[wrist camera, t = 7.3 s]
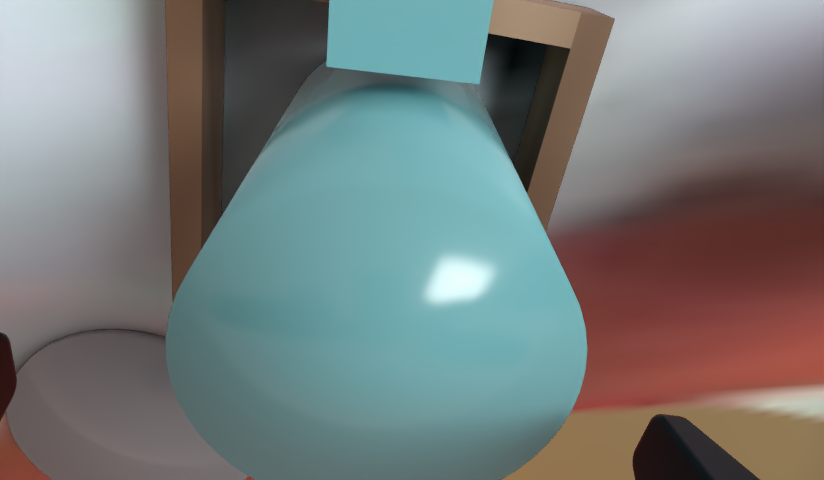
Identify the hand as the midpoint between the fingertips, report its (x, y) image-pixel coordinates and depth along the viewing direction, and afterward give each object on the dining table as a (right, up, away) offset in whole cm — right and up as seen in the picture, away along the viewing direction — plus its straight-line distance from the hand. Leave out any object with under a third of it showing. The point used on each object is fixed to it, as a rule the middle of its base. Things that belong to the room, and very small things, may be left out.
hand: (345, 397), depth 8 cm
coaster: (-9, -5, +14) cm, 17 cm away
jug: (+1, +8, +7) cm, 10 cm away
